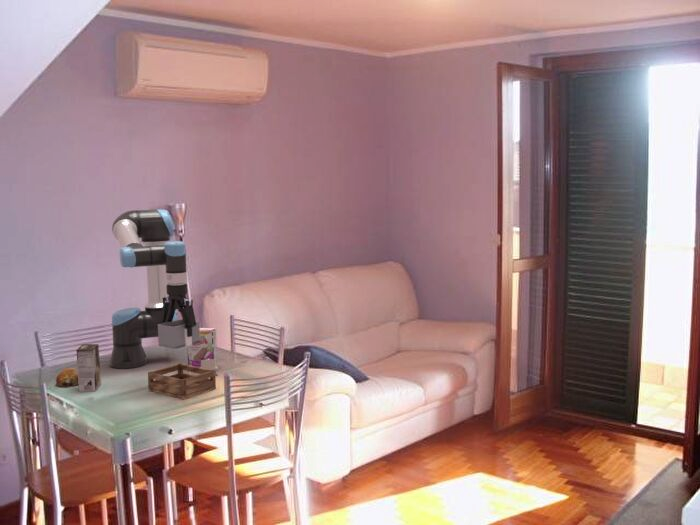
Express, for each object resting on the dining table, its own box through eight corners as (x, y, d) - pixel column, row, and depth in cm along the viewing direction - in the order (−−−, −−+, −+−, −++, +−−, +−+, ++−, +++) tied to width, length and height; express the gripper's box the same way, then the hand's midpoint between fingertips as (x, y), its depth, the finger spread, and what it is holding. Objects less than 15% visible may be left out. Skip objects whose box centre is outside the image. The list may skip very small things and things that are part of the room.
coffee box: (84, 385, 301) (81, 344, 299) (101, 384, 301) (99, 343, 299) (78, 392, 292) (75, 349, 290) (95, 391, 292) (93, 349, 290)
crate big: (148, 390, 292) (147, 372, 291) (180, 380, 305) (180, 363, 304) (183, 399, 281) (183, 380, 280) (215, 388, 294) (215, 370, 293)
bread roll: (86, 391, 305) (91, 371, 307) (70, 387, 295) (75, 366, 298) (65, 389, 308) (70, 369, 310) (48, 385, 299) (53, 364, 301)
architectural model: (199, 376, 312) (198, 358, 311) (216, 374, 314) (216, 356, 313) (201, 378, 309) (200, 360, 308) (218, 376, 311) (217, 358, 310)
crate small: (158, 345, 288) (157, 324, 287) (183, 339, 298) (182, 318, 297) (175, 348, 283) (174, 327, 282) (199, 342, 293) (198, 321, 292)
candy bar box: (187, 369, 321) (186, 330, 319) (191, 366, 326) (189, 327, 324) (214, 369, 320) (213, 330, 318) (217, 366, 325) (216, 327, 323)
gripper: (149, 282, 291) (152, 341, 294) (189, 287, 278) (192, 349, 281) (164, 280, 297) (167, 338, 300) (205, 284, 284) (207, 345, 287)
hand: (179, 343), depth 291 cm, fingers closed on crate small, 9 cm apart
